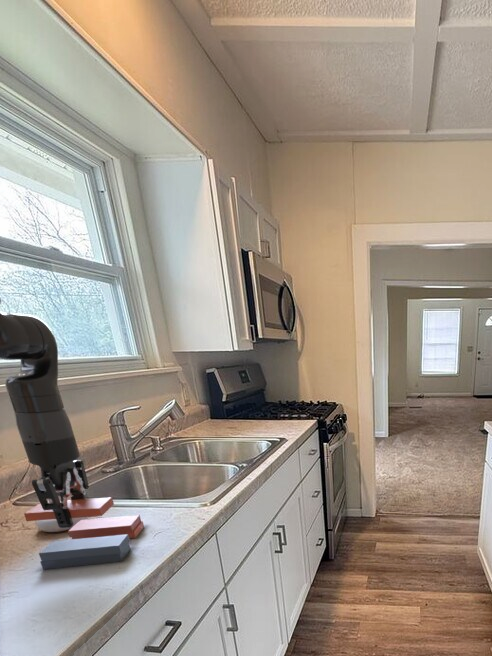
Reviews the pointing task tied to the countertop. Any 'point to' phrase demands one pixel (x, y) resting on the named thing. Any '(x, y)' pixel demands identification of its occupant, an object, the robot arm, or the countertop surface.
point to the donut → (55, 524)
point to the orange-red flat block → (107, 527)
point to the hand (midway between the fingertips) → (74, 519)
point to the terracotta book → (73, 509)
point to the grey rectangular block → (85, 551)
